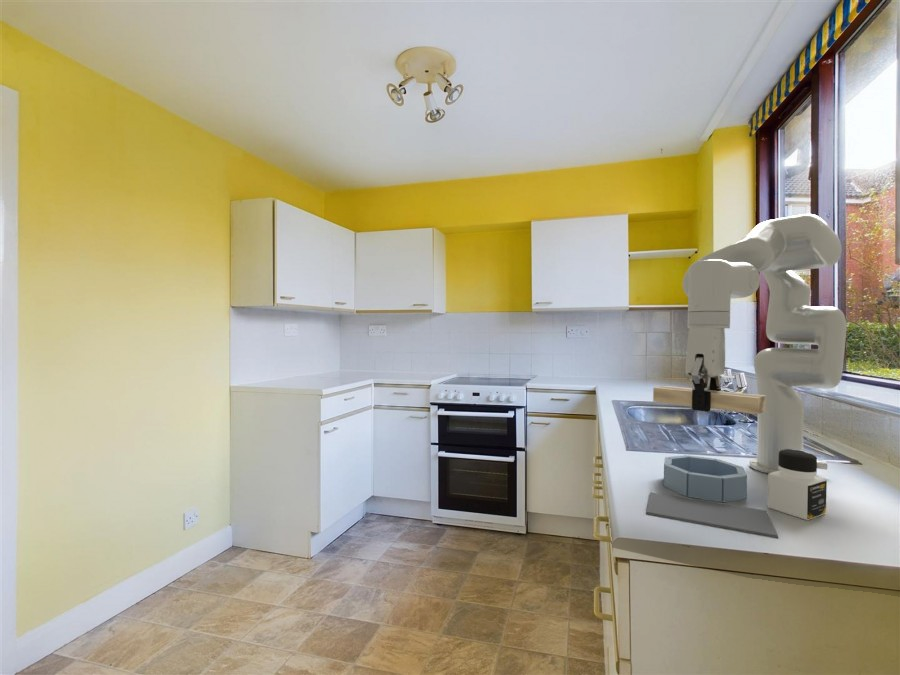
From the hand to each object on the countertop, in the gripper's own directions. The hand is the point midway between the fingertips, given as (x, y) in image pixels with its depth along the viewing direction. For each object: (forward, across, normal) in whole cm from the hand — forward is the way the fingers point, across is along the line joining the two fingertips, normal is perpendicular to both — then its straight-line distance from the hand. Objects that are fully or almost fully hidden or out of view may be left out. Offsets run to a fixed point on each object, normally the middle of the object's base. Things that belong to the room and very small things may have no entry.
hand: (706, 408), depth 91 cm
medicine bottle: (+20, -10, +14) cm, 27 cm away
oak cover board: (0, 0, 0) cm, 0 cm away
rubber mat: (+20, +4, +2) cm, 21 cm away
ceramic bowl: (+20, -11, -3) cm, 23 cm away
